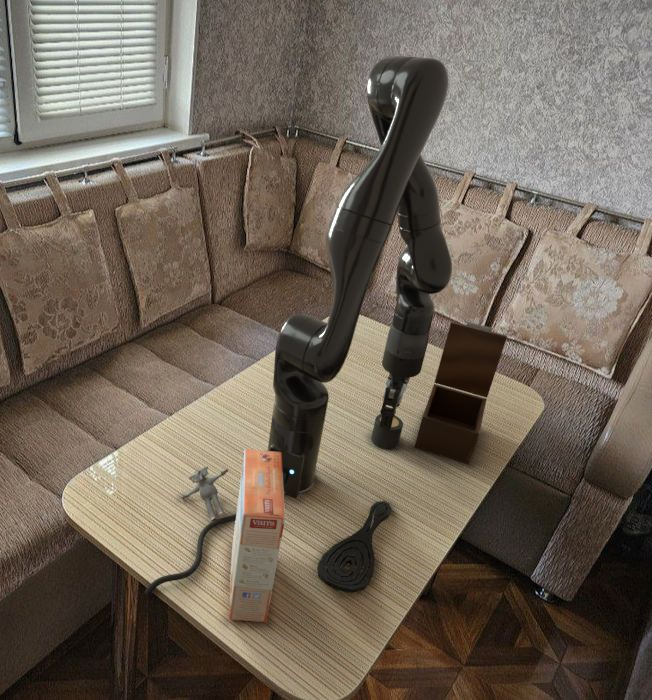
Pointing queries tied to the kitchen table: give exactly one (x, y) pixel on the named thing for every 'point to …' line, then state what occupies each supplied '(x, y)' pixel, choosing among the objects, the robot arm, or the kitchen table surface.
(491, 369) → the lid
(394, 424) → the dark grey short cylinder
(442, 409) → the box
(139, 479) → the kitchen table surface
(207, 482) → the elephant figurine
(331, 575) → the hairbrush
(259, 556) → the cracker box
